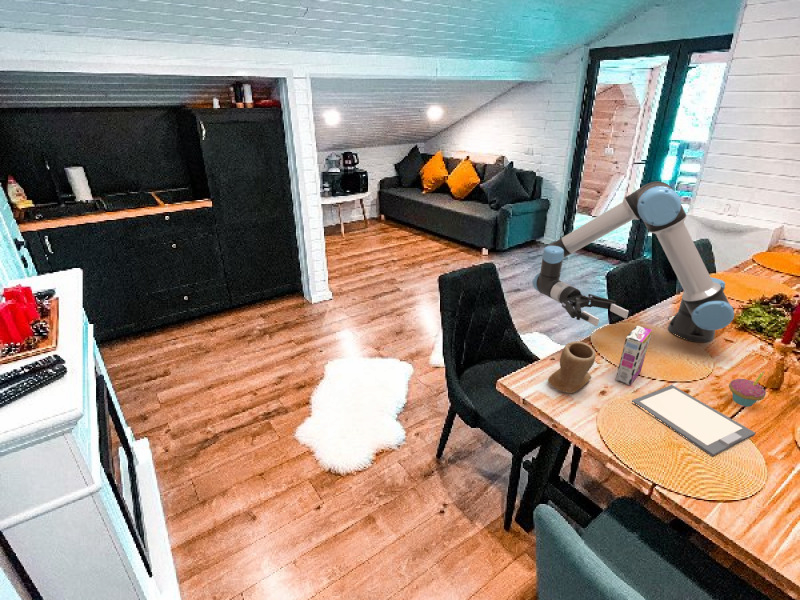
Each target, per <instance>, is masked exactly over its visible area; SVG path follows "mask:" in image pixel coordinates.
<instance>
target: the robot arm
mask: <svg viewBox="0 0 800 600" xmlns="http://www.w3.org/2000/svg"><path fill="white" fill-rule="evenodd" d="M686 218H687V214H686V212H685V210H684V208H683V206H682V203H681V198H680V195H679V194H678V193H677V192H676V191H675V190H674V189H673V188H672V187H671V185H669V184H667V183H665V182H664V181H663V182H662V181H652V182H649V183H646V184H644V185H643V186H641V187H640V188H638V189H636V190H635V191H633V192H632V193H630V194H629V195H627V196H625V197H624V198H623V201H622V202H621V203H619V204H617V205H615V206H613V207H612V208H610V209H609V210H607V211H605V212H604V213H602V214H600V215H599V216H598V215H597V216H596V217H595V218H593V219H591V220H590V221H588V222H586V223H584V224H583V225H581V226H580V227H578V228H577V229H574V230H573V231H571V232H569V233H567V234H566V235H564V236H562V237H560V238H559V239H557V240H553V241H551V242H549V243H548V244H547V246H545V247H544V249H543V252H542V255H541V257H542V258H541V265H540V272H539V273H537V274H536V275H535V276H534V279H532V286H533V289H534V290H536V291H537V292H539V293H540V294H543V295H545V296H546V297H549V298H550V299H552V300H554V301H555V302H557V303H559V304H561V307H562V308H563V309H565V310H566V312H567V314H568V315H569V316H570V318H571V319H575V320H577V321H580V320H581V319H582V320H583V321H586V322H588V323H589V324H590V325H593V326H594V327H598V326H599V322H600V318H599V317H596V316H594V315H593V314H591V313H589V312H588V311H585V310H582V308H586V307H587V308H599V309H605V310H609V311H610V312H612V313H614V314H615V315H617V316H619V317H621V318H623V319H628V316H629V312H630V311H629V310H628V309H625V308H623V307H621V306H619V305H617V301H616V300H614V299H608V298H607V297H606V298H605V297H602V296H598V295H594V294H592V293H589V294H588V295H587V296H586V295H583V294H582V293H581V291H580V290H579V289H578V288H576V287H574V286H572V285H570V284H568V283H566V282H563V281H561V280H560V278H561V271H562V266H563V261H564V259H565V258H566V257H568V256H570V255H572V254H573V253H575V252H577V251H578V250H581V249H582V248H584V247H586V246H588V245H589V244H591V243H594V242H595V241H597V240H599V239H600V238H602V237H604V236H606V235H608V234H609V233H611V232H613V231H615V230H617V229H619V228H620V227H622V226H624V225H626V224H628V223H629V222H631V221H633V220H637V221H639V220H640V219H642V221H643V223H644V226H645V227H646V229H647V231H648V232H649V233H651V234H655V236H656V238H657V239H658V242H659V244H660V245H661V247H662V250H663V251H664V253H665V256H666V257H667V260H668V262H669V263H670V265H671V267H672V270H673V271H674V274H675V275H676V278H677V280H678V282H679V283H680V285H681V287H682V289H683V293H682V296H681V300H680V305H679V307H678V311H677V312H676V313H675V315H674V316H673V317H672V318H671V320H670V321H669V323H668V327H667V330H668V331H669V333H671V332H672V333H674V334H676V335H678V336H680V337H682V338H685V339H687V340H686V341H689V342H693V343H694V342H695V343H708V342H711V341H713V340H714V338H715V335H716V331H718V330H721V329H724V328H726V327H727V326H729V325H730V324H731V323H732V321H733V320H734V317H735V311H734V307H733V306H732V305H731V304H730V301H729V300H728V298H727V296H726V294H725V292H724V290H725V289H726V282H725V281H724V280H723V279H719V278H717V277H712V276H711V275H710V273H709V271H708V269H707V267H706V265H705V263H704V262H703V261H704V260H703V259H702V257H701V255H700V252H699V251H698V249H697V247H696V245H695V243H694V240H693V239H692V236H691V234H690V233H689V230H688V229H687V226H686V224H685V221H686ZM672 333H671V334H672ZM682 338H681V339H682ZM685 339H684V340H685Z"/></svg>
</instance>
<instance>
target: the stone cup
mask: <svg viewBox="0 0 800 600" xmlns="http://www.w3.org/2000/svg"><path fill="white" fill-rule="evenodd" d="M595 360H596V351H595V349H594V348H593V347H592V346H591V345H590V344H588V343H585V342H584V341H575V340H574V341H571V342H569V343H568V342H567V343H566V345H565V346H564V348H563V349H562V351H561V355H560V358H559V366H560V367H559V368H558V369H557V370H556V371H554V372H553V373H552V374H550V376H549V377H548V379H547V383H548V384H549V385H550V386H552V387H553V388H554V389H556V390H558V391H560V392H563V393H567V394H573V393H576V392H577V391H580V390H581V389H582V388H584V386H585V385H586V384H587V383H588V382H589V381H590V380H591V379H592V376H591V374H590V373H589V371H590V369H591V368H592V367H593V366H594V363H595Z"/></svg>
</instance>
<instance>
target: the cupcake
mask: <svg viewBox="0 0 800 600" xmlns="http://www.w3.org/2000/svg"><path fill="white" fill-rule="evenodd" d="M764 374H765V371H763V372H760V374H759V375H758V376H757V377H756V379H755V380H750V379H745V378H737V379H732V380H731V381H730V382H729V384H728V387H729V391H730V392H732V401H733V402H734V403H735V404H737V405H739V406H743V407H746V408H748V407H749V408H750V407H752V406H753V405H754V404H755V403H756V402H758V401H759V402H760V401H762V400H764V399H765V396H766V391H765V388H764V387H763V386H762V385H760V384H759V381H760V380H761V378H762V377H763V375H764Z"/></svg>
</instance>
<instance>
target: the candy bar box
mask: <svg viewBox="0 0 800 600" xmlns="http://www.w3.org/2000/svg"><path fill="white" fill-rule="evenodd" d="M652 333H653V329H652V328H647V327H644V326H640V325H636V326H635V327H634V328H633V329H632V330H631V332H629V334H628V335H627V336H626V337H625V342H624V344H623V349H622V353H621V357H620V360H619V365H618V368H617V372H616V375H615V376H616V377H615V379H614V380H615V381H617V382H619V383H622V384H625V385H627V386H631V385H632V384H633V382H634V381H635V380H636V378H637V377H638V376H639V375H640V373H641V372H642V369H643V365H644V361H645V359H646V355H647V354H646V353H647V352H648V351H647V350H648V347H649V344H650V340H651V337H652Z"/></svg>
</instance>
